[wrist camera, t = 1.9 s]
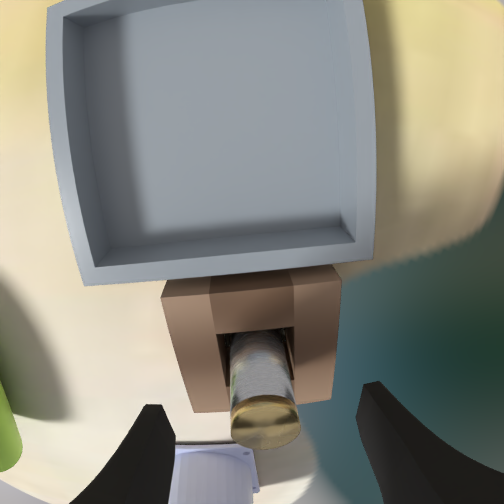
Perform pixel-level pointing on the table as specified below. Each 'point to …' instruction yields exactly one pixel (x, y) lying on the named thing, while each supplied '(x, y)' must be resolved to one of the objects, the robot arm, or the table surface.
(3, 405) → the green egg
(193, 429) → the table surface
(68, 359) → the table surface
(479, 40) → the table surface
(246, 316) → the pin block
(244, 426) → the pin
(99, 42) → the tray
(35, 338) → the table surface
